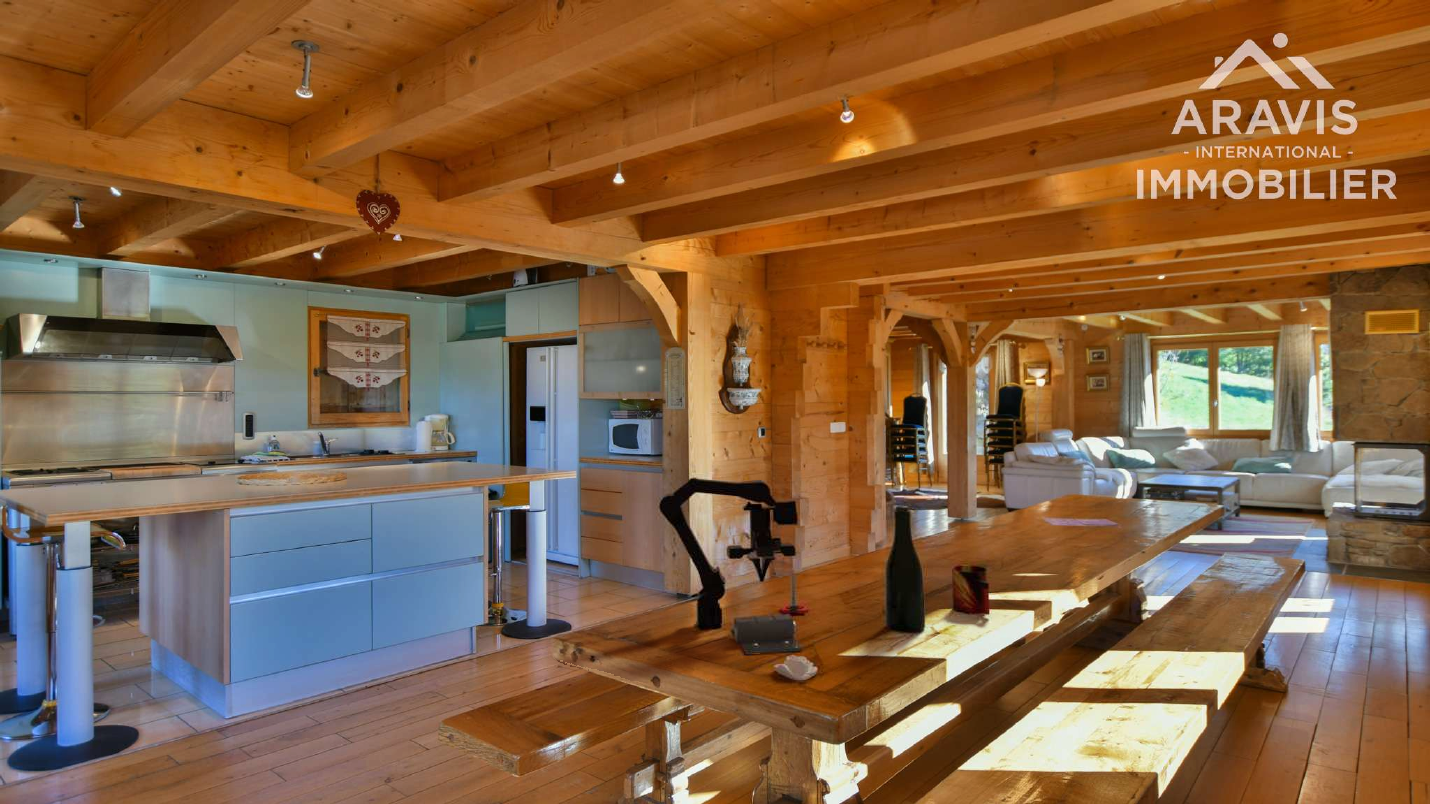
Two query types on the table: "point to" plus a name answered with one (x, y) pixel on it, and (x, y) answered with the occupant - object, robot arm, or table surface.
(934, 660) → the table surface
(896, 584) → the beer bottle
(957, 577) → the mug
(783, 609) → the tow hook
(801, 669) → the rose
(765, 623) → the hinge
